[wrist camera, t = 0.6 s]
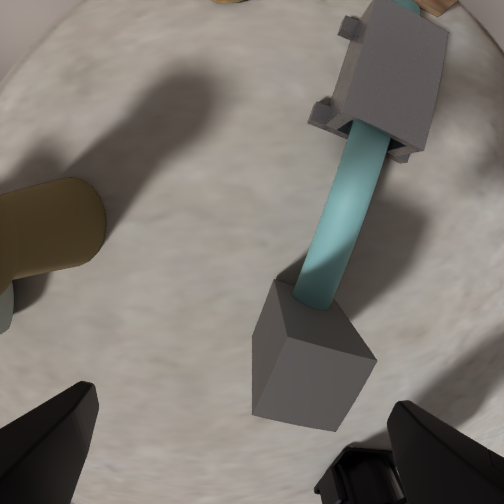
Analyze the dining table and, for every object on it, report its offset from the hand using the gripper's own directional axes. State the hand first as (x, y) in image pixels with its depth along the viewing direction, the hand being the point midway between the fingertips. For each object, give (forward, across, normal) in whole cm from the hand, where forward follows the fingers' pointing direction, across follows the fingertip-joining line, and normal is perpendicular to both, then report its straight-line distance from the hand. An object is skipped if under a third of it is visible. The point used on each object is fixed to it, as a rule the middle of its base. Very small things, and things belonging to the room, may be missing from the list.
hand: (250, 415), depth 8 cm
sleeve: (+13, -7, -12) cm, 19 cm away
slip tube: (+12, -6, -7) cm, 15 cm away
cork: (+13, +12, -2) cm, 18 cm away
